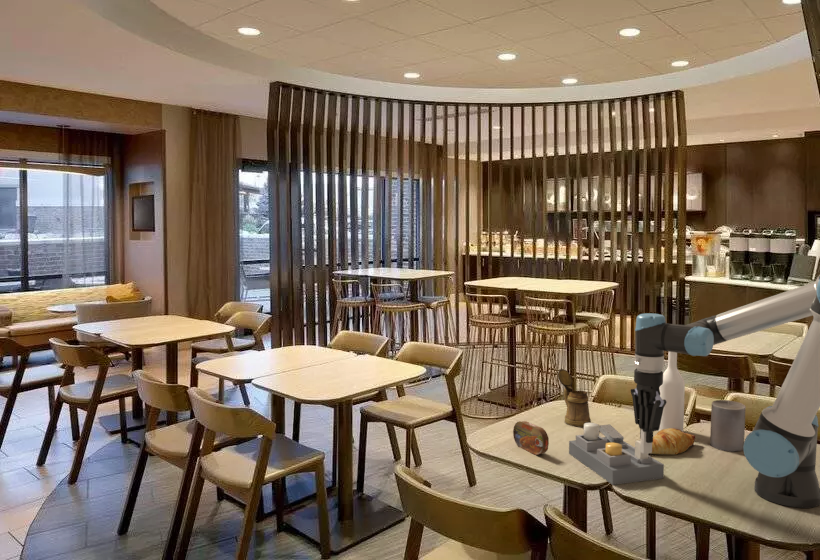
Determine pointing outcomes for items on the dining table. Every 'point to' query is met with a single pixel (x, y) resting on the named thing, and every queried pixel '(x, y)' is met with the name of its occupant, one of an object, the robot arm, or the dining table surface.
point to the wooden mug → (574, 402)
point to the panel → (615, 461)
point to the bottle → (672, 396)
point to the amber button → (613, 449)
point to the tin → (531, 437)
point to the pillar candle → (727, 425)
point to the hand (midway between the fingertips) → (646, 452)
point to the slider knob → (637, 451)
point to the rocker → (611, 433)
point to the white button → (591, 431)
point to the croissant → (671, 442)
